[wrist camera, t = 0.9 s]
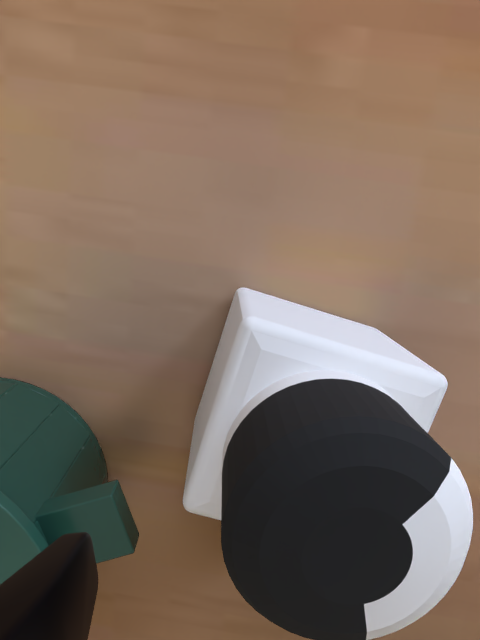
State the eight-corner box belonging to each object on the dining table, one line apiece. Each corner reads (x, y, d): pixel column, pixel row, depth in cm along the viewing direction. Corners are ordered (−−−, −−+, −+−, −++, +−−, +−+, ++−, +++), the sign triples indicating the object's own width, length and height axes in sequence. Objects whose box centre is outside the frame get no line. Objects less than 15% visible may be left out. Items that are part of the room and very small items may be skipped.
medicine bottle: (193, 421, 22) (157, 650, 10) (237, 284, 21) (254, 365, 9) (328, 459, 23) (440, 713, 11) (380, 328, 21) (571, 458, 10)
